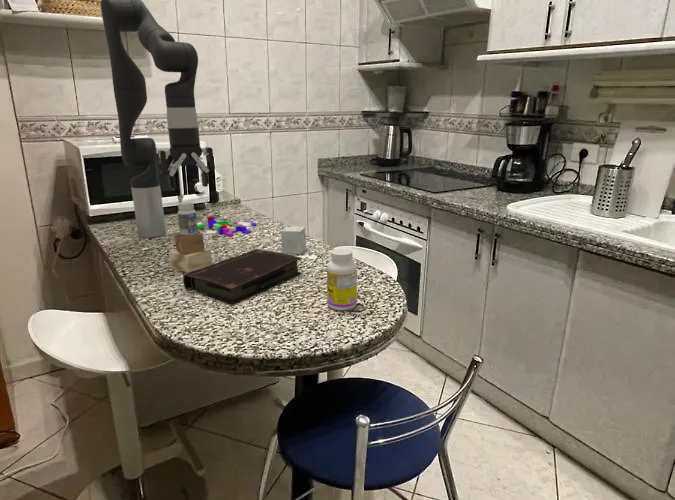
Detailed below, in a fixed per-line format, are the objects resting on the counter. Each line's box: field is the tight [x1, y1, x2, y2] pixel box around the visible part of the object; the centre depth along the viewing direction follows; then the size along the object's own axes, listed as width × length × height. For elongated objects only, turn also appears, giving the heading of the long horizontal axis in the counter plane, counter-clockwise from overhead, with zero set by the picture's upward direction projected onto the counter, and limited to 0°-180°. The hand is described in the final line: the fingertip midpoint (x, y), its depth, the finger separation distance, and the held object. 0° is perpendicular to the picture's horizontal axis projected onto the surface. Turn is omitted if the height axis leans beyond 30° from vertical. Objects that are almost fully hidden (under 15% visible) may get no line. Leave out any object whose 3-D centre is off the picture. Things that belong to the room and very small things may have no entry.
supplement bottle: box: [326, 247, 358, 312], centre depth 101 cm, size 7×7×13 cm
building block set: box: [197, 215, 257, 238], centre depth 169 cm, size 25×20×4 cm
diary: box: [182, 248, 303, 305], centre depth 117 cm, size 19×25×5 cm
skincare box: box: [280, 225, 307, 255], centre depth 140 cm, size 6×6×7 cm
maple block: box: [168, 247, 213, 273], centre depth 128 cm, size 8×8×5 cm
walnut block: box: [173, 230, 205, 255], centre depth 127 cm, size 6×6×5 cm
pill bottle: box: [177, 201, 199, 235], centre depth 125 cm, size 5×5×8 cm
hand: (189, 188), depth 123 cm, fingers open, 8 cm apart
